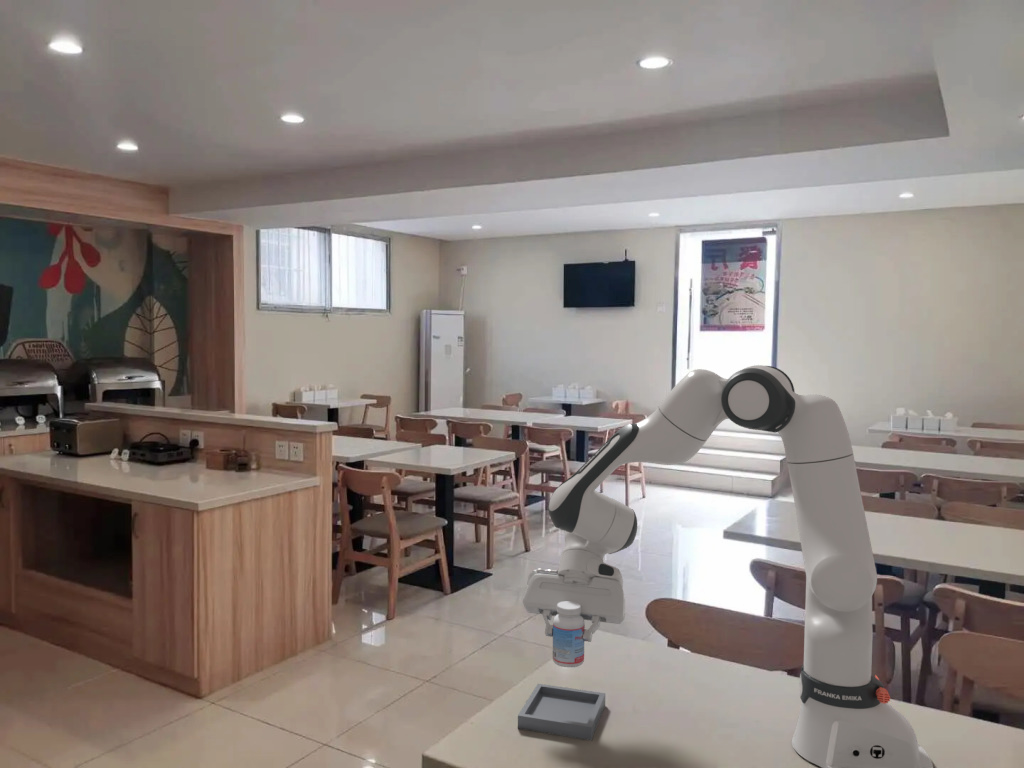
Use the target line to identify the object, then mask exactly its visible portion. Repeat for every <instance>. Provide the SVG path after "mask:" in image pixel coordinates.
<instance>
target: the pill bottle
mask: <svg viewBox="0 0 1024 768" xmlns="http://www.w3.org/2000/svg"><path fill="white" fill-rule="evenodd" d="M557 613H558V615H556V616H553V617H554V618H553V621H552V625H553V637H552V661H553V663H554V664H555V665H557V666H559V667H561V668H577V667H580V666H581V665H583V664H584V661H585V641H583V634H584V629H585V628H586V627H585V620H584V619H583V617H582V616H580V614H581V605H580V604H579V603H577V602H572V601H563V602H560V603H558V604H557Z"/></svg>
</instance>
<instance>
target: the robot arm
mask: <svg viewBox="0 0 1024 768" xmlns="http://www.w3.org/2000/svg"><path fill="white" fill-rule="evenodd" d="M727 419H729V420H730V421H731V422H732V423H734V424H735V425H737V426H739V427H742V428H744V429H749V430H754V431H755V430H756V431H763V432H768V433H778V434H779V436H780V437H781V440H782V444H783V448H784V453H785V459H786V463H787V469H788V474H789V475H788V476H789V481H790V485H791V491H792V496H793V502H794V507H795V515H796V522H797V527H798V533H799V541H800V547H801V553H802V558H803V559H802V560H803V566H804V572H805V605H804V606H805V609H804V610H805V611H804V612H805V613H804V634H803V635H804V637H803V638H804V641H803V643H804V644H803V645H804V646H803V664H802V666H801V669H800V673H799V697H800V701H801V702H800V707H799V714H798V720H797V723H796V727H795V730H794V733H793V736H792V737H791V745H792V747H793V749H794V751H795V752H796V753H797V754H798V755H800V756H801V757H802V758H804V759H805V760H806V761H808V762H809V763H812V764H813V765H816V766H817V767H820V768H934V765H933V762H932V759H931V757H930V756H929V754H928V752H927V750H925V748H924V747H923V746H921V745H920V744H919V743H918V742H919V741H918V739H917V735H916V732H915V730H914V728H913V726H912V724H911V723H910V722H909V720H908V719H907V717H905V715H903V714H902V713H901V712H900V711H898V709H896V708H895V707H894V706H892V705H891V704H890V703H889V702H890V701H891V696H890V694H889V691H888V690H887V688H884V684H883V682H882V681H880V677H878V676H877V674H875V675H873V674H872V666H873V665H872V660H873V659H872V658H873V657H872V656H873V635H874V634H873V594H874V593H875V591H876V588H877V584H878V574H877V567H876V564H875V563H876V561H875V559H874V553H873V547H872V543H871V538H870V533H869V528H868V527H869V526H868V522H867V518H866V512H865V507H864V503H863V497H862V492H861V488H860V487H861V486H860V481H859V476H858V471H857V465H856V461H855V455H854V451H853V446H852V441H851V438H850V433H849V432H848V431H849V430H848V428H847V425H846V422H845V419H844V417H843V414H842V412H841V409H840V407H839V405H838V403H837V402H836V401H835V400H834V399H832V398H831V397H829V396H826V395H821V394H807V395H804V394H803V395H802V394H798V393H796V392H795V387H794V383H793V382H792V379H791V378H790V377H789V376H788V374H786V373H785V372H784V370H781V369H779V368H778V367H775V366H772V365H762V364H761V365H759V364H757V365H755V364H754V365H751V366H747V367H744V368H742V369H740V370H738V371H736V372H734V373H733V374H732V375H730V376H729V377H728V378H724V377H722V376H720V375H719V374H718V373H715V372H713V371H712V370H707V369H702V368H701V369H699V368H697V369H694V370H691V371H689V372H688V373H687V374H686V375H685V376H683V378H681V379H680V380H679V381H678V383H677V384H676V385H675V386H674V387H673V388H672V389H671V390H670V391H669V392H668V393H667V395H666V396H665V397H664V398H663V400H662V401H661V402H660V404H659V405H658V406H657V408H656V409H655V410H654V411H653V412H652V413H651V414H650V415H648V416H647V417H646V418H644V419H642V420H640V421H638V422H635V423H627V424H625V425H624V426H622V427H621V428H620V429H618V430H617V431H616V432H615V433H614V434H613V435H611V436H610V438H608V440H606V441H605V442H604V443H603V444H602V445H601V446H600V447H599V448H598V449H597V451H595V453H593V455H592V456H590V458H589V459H587V460H586V461H585V463H584V464H583V465H582V466H581V467H580V468H579V469H578V470H577V471H576V472H575V473H574V474H572V475H571V476H570V477H569V478H567V479H566V480H564V481H563V482H562V483H560V485H558V486H557V487H556V489H555V490H554V491H553V493H552V494H551V496H550V498H549V499H548V500H549V501H548V503H547V510H548V514H549V517H550V519H551V521H552V524H553V526H554V527H555V528H556V529H558V530H563V531H564V532H565V535H564V541H565V544H564V548H563V550H562V552H561V555H560V560H559V563H558V569H544V568H536V569H534V570H532V571H531V572H530V573H529V574H528V577H527V587H526V589H525V592H524V595H523V598H522V603H523V608H524V609H525V610H526V611H527V613H528V614H529V613H530V614H536V615H541V616H542V617H543V621H544V624H545V630H544V634H545V636H546V637H550V638H551V637H552V638H553V624H550V622H549V621H551V620H552V617H555V616H556V615H558V613H557V604H558V603H560V602H563V601H572V602H577V603H579V604H580V605H581V614H580V616H582V617H583V619H584V621H591V625H590V626H589V628H588V629H585V628H584V634H583V641H584V642H588V643H592V642H593V641H592V640H593V635H594V634H595V633H596V632H597V630H598V629H599V628H600V626H601V623H608V624H614V625H621V624H622V623H624V621H625V618H626V597H625V593H624V587H623V586H624V579H623V576H622V573H621V571H620V569H619V568H617V567H615V566H613V565H611V564H608V563H605V562H604V559H605V558H604V557H605V556H606V555H607V554H608V555H612V554H615V553H617V552H620V551H622V550H625V549H627V548H629V547H630V546H631V545H632V544H633V543H634V541H635V538H636V535H637V533H638V532H637V531H638V519H637V515H636V513H635V510H634V509H632V508H631V507H629V506H628V505H627V504H624V503H623V502H620V501H619V500H616V499H614V498H611V497H609V496H607V495H605V494H603V493H601V492H599V491H598V490H596V489H598V487H599V486H600V485H601V484H602V483H604V482H605V481H606V480H607V478H608V477H609V476H610V475H612V474H613V472H615V470H617V469H618V468H619V467H621V466H623V465H626V464H630V463H648V464H649V463H650V464H656V465H661V466H662V465H663V466H673V465H678V464H679V465H680V464H683V463H686V462H687V461H688V462H689V460H691V459H693V458H694V456H695V455H697V454H698V453H699V451H700V450H701V449H702V447H703V446H704V445H705V444H706V442H707V441H708V440H709V438H710V437H711V436H712V434H713V432H714V431H715V430H716V429H717V427H718V426H719V425H720V424H721V423H723V422H724V421H725V420H727Z"/></svg>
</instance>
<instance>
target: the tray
mask: <svg viewBox="0 0 1024 768" xmlns="http://www.w3.org/2000/svg"><path fill="white" fill-rule="evenodd" d="M605 707H606V692H599V691H593V690H586V689H585V690H584V689H580V688H579V689H578V688H572V687H571V688H569V687H563V686H557V685H551V684H543V683H537V684H536V686H535V687H534V689H533V691H532V692H531V694H530V695H529V697H528V698H527V700H526V702H525V704H524V705H523V706H522V708H521V710H520V711H519V714H517V715H518V716H517V729H518V730H526V731H532V732H537V733H543V734H544V733H545V734H550V735H556V736H561V737H568V738H573V739H574V738H575V739H579V740H587V741H592V740H593V738H594V734H595V733H596V730H597V727H598V725H599V722H600V720H601V717H602V716H603V715H602V714H603V712H604V709H605Z"/></svg>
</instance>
